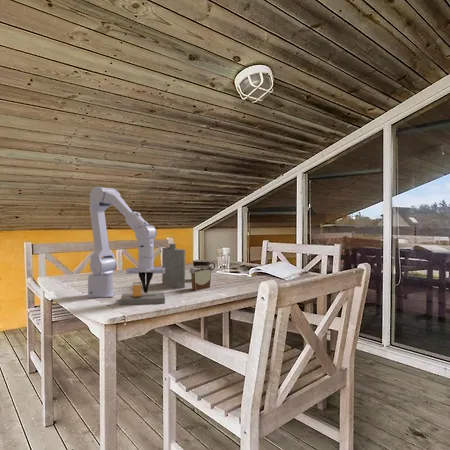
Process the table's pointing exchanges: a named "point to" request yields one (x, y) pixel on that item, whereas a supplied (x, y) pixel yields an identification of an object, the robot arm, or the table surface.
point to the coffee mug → (202, 263)
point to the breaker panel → (143, 298)
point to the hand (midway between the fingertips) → (145, 292)
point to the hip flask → (173, 266)
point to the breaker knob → (136, 288)
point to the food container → (200, 277)
